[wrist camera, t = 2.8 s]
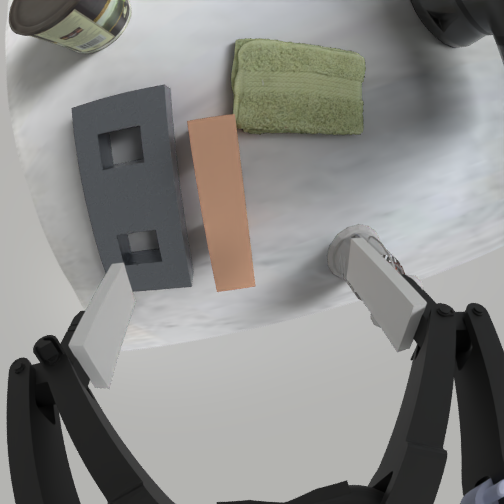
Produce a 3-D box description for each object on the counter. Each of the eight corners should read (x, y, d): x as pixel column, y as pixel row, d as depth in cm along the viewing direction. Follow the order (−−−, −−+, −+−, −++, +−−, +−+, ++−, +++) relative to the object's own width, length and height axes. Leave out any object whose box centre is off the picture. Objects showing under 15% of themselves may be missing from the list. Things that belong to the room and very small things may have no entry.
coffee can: (108, -19, 19) (68, -60, 7) (146, 15, 24) (112, -29, 11) (54, 31, 21) (-3, 11, 9) (87, 67, 26) (28, 52, 13)
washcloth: (230, 40, 28) (232, 33, 25) (359, 54, 29) (370, 51, 27) (230, 134, 33) (231, 135, 31) (357, 140, 35) (367, 143, 33)
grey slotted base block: (85, 108, 28) (71, 108, 25) (170, 88, 29) (164, 84, 26) (119, 278, 40) (112, 293, 37) (193, 271, 41) (191, 286, 38)
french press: (335, 288, 46) (406, 409, 24) (315, 231, 41) (407, 356, 18) (384, 263, 45) (473, 364, 23) (371, 204, 40) (490, 298, 17)
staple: (197, 120, 32) (187, 121, 21) (229, 116, 32) (234, 113, 21) (216, 242, 40) (217, 292, 29) (244, 238, 40) (255, 286, 29)
